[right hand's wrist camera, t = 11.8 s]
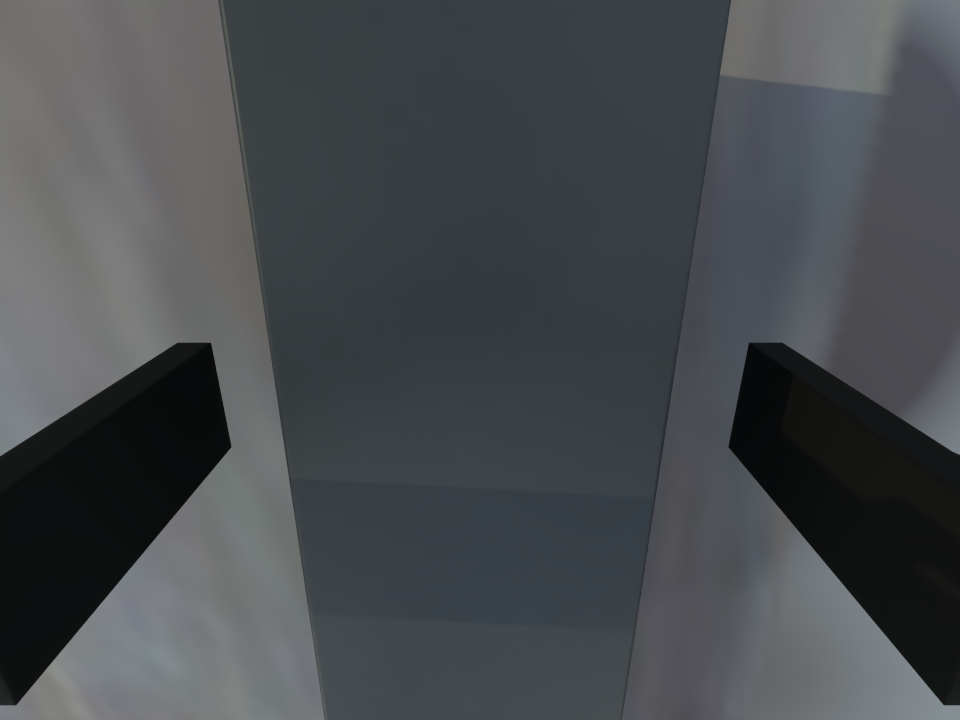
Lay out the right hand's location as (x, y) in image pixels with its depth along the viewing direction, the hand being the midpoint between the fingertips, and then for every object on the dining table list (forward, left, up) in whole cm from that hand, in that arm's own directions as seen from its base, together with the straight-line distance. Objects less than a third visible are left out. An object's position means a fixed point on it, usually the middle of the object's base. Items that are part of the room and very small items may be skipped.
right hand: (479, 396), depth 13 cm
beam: (+14, +24, -4) cm, 28 cm away
